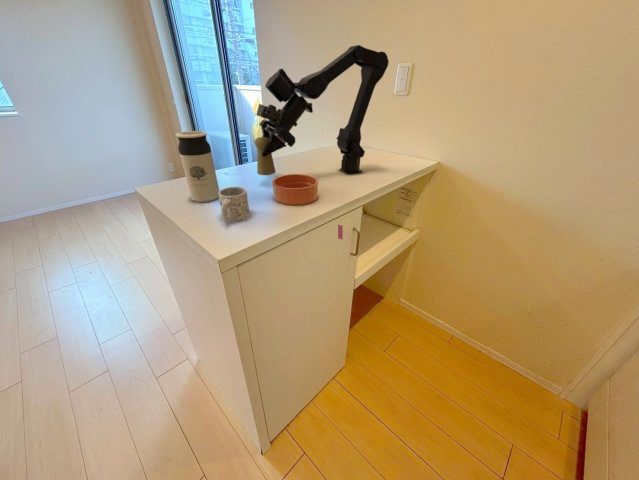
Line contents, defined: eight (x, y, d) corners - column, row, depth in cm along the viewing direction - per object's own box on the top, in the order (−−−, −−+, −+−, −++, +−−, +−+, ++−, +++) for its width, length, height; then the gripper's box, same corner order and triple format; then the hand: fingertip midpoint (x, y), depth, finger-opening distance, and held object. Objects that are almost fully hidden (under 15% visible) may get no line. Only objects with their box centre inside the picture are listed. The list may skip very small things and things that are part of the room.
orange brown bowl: (305, 186, 86) (305, 171, 83) (325, 200, 76) (325, 184, 73) (267, 193, 80) (266, 177, 78) (284, 209, 71) (282, 192, 68)
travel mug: (198, 192, 80) (183, 130, 71) (224, 192, 80) (212, 131, 71) (186, 202, 74) (168, 135, 64) (214, 202, 74) (199, 136, 64)
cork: (279, 172, 86) (276, 137, 80) (263, 176, 82) (259, 140, 76) (268, 168, 89) (265, 134, 83) (253, 172, 86) (249, 137, 80)
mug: (229, 209, 70) (225, 186, 66) (253, 211, 69) (250, 187, 66) (212, 227, 61) (206, 201, 58) (239, 229, 61) (235, 203, 57)
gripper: (262, 91, 82) (232, 131, 84) (282, 94, 68) (246, 142, 70) (286, 117, 89) (259, 153, 91) (309, 124, 75) (277, 167, 77)
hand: (260, 153), depth 82 cm, fingers closed on cork, 5 cm apart
